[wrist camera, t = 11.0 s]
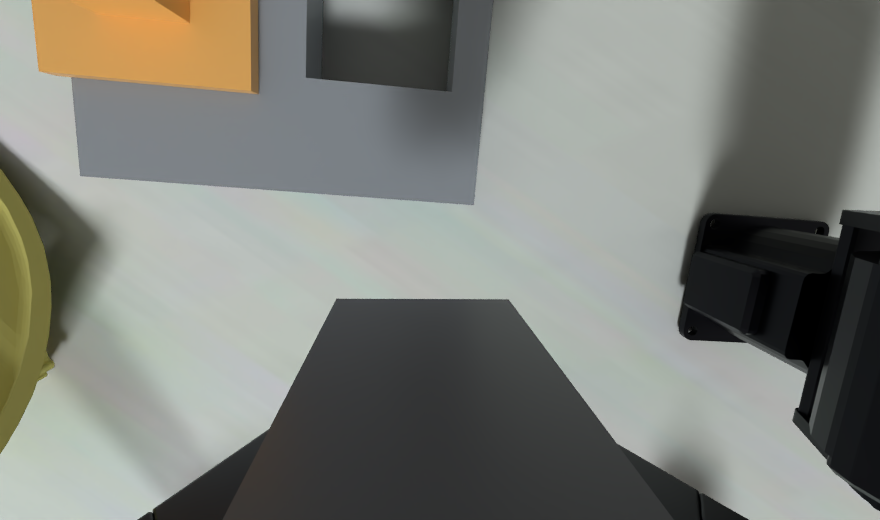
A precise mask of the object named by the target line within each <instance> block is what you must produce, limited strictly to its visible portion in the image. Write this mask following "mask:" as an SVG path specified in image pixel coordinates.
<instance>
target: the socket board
mask: <svg viewBox="0 0 880 520" xmlns="http://www.w3.org/2000/svg"><path fill="white" fill-rule="evenodd" d="M492 7H493V0H453V12H452V25H451V38H450V51H449V64H448V77H447V90H446V91H439V90H428V89H418V88H407V87H397V86H387V85H376V84H366V83H355V82H345V81H335V80H324V79H321V75H322V29H323V0H258V73H259V94H249V93H238V92H227V91H216V90H206V89H195V88H184V87H173V86H162V85H151V84H140V83H130V82H119V81H108V80H97V79H86V78H75V77H71V79H72V90H73V101H74V112H75V123H76V134H77V145H78V156H79V167H80V176H87V177H101V178H114V179H128V180H141V181H155V182H168V183H182V184H195V185H209V186H223V187H236V188H250V189H263V190H277V191H290V192H304V193H317V194H331V195H344V196H358V197H371V198H385V199H398V200H412V201H426V202H439V203H453V204H466V205H474V197H475V186H476V176H477V165H478V155H479V144H480V134H481V123H482V113H483V102H484V92H485V81H486V71H487V60H488V50H489V39H490V29H491V18H492Z"/></svg>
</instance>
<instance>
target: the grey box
mask: <svg viewBox="0 0 880 520" xmlns="http://www.w3.org/2000/svg"><path fill="white" fill-rule="evenodd" d="M223 520H674V519H673V518H672V517H671V515H670V514H669V513H668V511H667V510H666V509H665V507H664V506H663V505H662V503H661V502H660V501H659V499H658V498H657V497H656V495H655V494H654V493H653V491H652V490H651V489H650V487H649V486H648V485H647V483H646V482H645V481H644V479H643V478H642V477H641V475H640V474H639V473H638V471H637V470H636V469H635V467H634V466H633V465H632V463H631V462H630V461H629V459H628V458H627V457H626V455H625V454H624V453H623V451H622V450H621V449H620V447H619V446H618V445H617V443H616V442H615V441H614V439H613V438H612V437H611V435H610V434H609V433H608V431H607V430H606V429H605V427H604V426H603V425H602V423H601V422H600V421H599V419H598V418H597V417H596V415H595V414H594V413H593V411H592V410H591V409H590V407H589V406H588V405H587V403H586V402H585V401H584V399H583V398H582V397H581V395H580V394H579V393H578V391H577V390H576V389H575V387H574V386H573V385H572V383H571V382H570V381H569V379H568V378H567V377H566V375H565V374H564V373H563V371H562V370H561V369H560V367H559V366H558V365H557V363H556V362H555V361H554V359H553V358H552V357H551V355H550V354H549V353H548V351H547V350H546V349H545V347H544V346H543V345H542V343H541V342H540V341H539V339H538V338H537V337H536V335H535V334H534V333H533V331H532V330H531V329H530V327H529V326H528V325H527V323H526V322H525V321H524V320H523V318H522V317H521V316H520V314H519V313H518V312H517V310H516V309H515V308H514V306H513V305H512V304H511V302H510V301H509V300H502V299H336V301H335V303H334V305H333V307H332V309H331V311H330V313H329V315H328V317H327V318H326V320H325V322H324V324H323V326H322V328H321V330H320V332H319V334H318V336H317V338H316V340H315V342H314V344H313V346H312V348H311V349H310V351H309V353H308V355H307V357H306V359H305V361H304V363H303V365H302V367H301V369H300V371H299V373H298V375H297V377H296V378H295V380H294V382H293V384H292V386H291V388H290V390H289V392H288V394H287V396H286V398H285V400H284V402H283V404H282V406H281V407H280V409H279V411H278V413H277V415H276V417H275V419H274V421H273V423H272V425H271V427H270V429H269V431H268V433H267V435H266V436H265V438H264V440H263V442H262V444H261V446H260V448H259V450H258V452H257V454H256V456H255V458H254V460H253V462H252V464H251V466H250V467H249V469H248V471H247V473H246V475H245V477H244V479H243V481H242V483H241V485H240V487H239V489H238V491H237V493H236V495H235V496H234V498H233V500H232V502H231V504H230V506H229V508H228V510H227V512H226V514H225V516H224V518H223Z"/></svg>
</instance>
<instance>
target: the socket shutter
mask: <svg viewBox="0 0 880 520" xmlns="http://www.w3.org/2000/svg"><path fill="white" fill-rule="evenodd" d="M31 1H32V10H33V20H34V29H35V39H36V49H37V58H38V68H39V71H40V72H44V73H48V74H52V75H56V76H64V77H75V78H86V79H97V80H108V81H119V82H130V83H140V84H151V85H162V86H173V87H184V88H195V89H206V90H216V91H227V92H238V93H249V94H259V73H258V0H31Z"/></svg>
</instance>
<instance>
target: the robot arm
mask: <svg viewBox="0 0 880 520" xmlns="http://www.w3.org/2000/svg"><path fill="white" fill-rule="evenodd" d="M712 220H715V224H714V226H713V227H712V228H711V226H710V223H711V221H712ZM839 224H842V225H843V226H842V230H841V234H840V238H835V237H830V236H828V234H829V227H828V225H827V224H826V223H825V222H820V221H812V220H799V219H785V218H772V217H759V216H746V215H733V214H720V213H708V214H706V215H704V217H703V218H702V219H701V222H700V226H699V231H698V236H697V241H696V246H695V251H694V255H693V256H692V261H691V266H690V271H689V276H688V281H687V286H686V290H685V295H684V305H683V310H682V315H681V319H680V324H679V332H680V334H681V335H682V336H683V337H685V338H686V339H689V340H701V341H721V342H742V343H749V344H751V345H753V346H755V347H757V348H759V349H760V350H762V351H764V352H766V353H768V354H770V355H772V356H774V357H776V358H778V359H779V360H781V361H783V362H785V363H787V364H789V365H791V366H793V367H795V368H797V369H798V370H800V371H802V372H804V373H806V374H807V376H806V380H805V384H804V388H803V393H802V397H801V401H800V405H799V408H796V409H795V412H794V416H793V420H792V421H793V422H794V423H795V425H796V426H797V427H798V428H799V429H800V430H801V431H802V432H803V434H804V435H805V436H806V437H807V438H808V439H809V440H810V441H811V443H812V444H813V445H814V446H815V447H816V448H817V449H818V450H819V452H820V453H821V454H822V455H823V456H824V457H825V458H826V459H827V465H828V466H829V467H830V468H831V469H832V471H833V472H834V473H835V474H836V475H838V476H839V477H840V478H842V479H843V480H844V481H846V482H847V483H848V484H849V485H850V486H851V487H852V488H853V489H854V490H855V491H856V492H857V493H858V494H859V495H860V496H861V497H862V498H864V499H865V500H866V501H868V502H869V503H870V504H871V505H872V506H873V507H874V508H875V509H877V510H879V511H880V211H862V210H842V215H841V219H840V223H839ZM816 229H817V232H816V234H815V230H816ZM692 326H693V329H692V331H690V332H688V330H689V328H690V327H692ZM268 431H269V430H267V431H266V432H264V433H263V434H261V435H260V436H258V437H257V438H256V439H254V440H253V441H251V442H250V443H248V444H247V445H245V446H244V447H242V448H241V449H240V450H238V451H237V452H235V453H234V454H232V455H231V456H229V457H228V458H227V459H225V460H224V461H222V462H221V463H219V464H218V465H216V466H215V467H214V468H212V469H211V470H209V471H208V472H206V473H205V474H203V475H202V476H200V477H199V478H198V479H196V480H195V481H193V482H192V483H190V484H189V485H187V486H186V487H185V488H183V489H182V490H180V491H179V492H177V493H176V494H174V495H173V496H171V497H170V498H169V499H167V500H166V501H164V502H163V503H161V504H160V505H158V506H157V507H156V508H154V509H153V513H152V512H148V513H147V514H145V515H144V516H142V517H141V518H139V519H138V520H223V518H224V516H225V514H226V512H227V510H228V508H229V506H230V504H231V502H232V500H233V498H234V496H235V495H236V493H237V491H238V489H239V487H240V485H241V483H242V481H243V479H244V477H245V475H246V473H247V471H248V469H249V467H250V466H251V464H252V462H253V460H254V458H255V456H256V454H257V452H258V450H259V448H260V446H261V444H262V442H263V440H264V438H265V436H266V435H267V433H268ZM617 445H618V444H617ZM618 446H619V447H620V449H621V450H622V451H623V453H624V454H625V455H626V457H627V458H628V459H629V461H630V462H631V463H632V465H633V466H634V467H635V469H636V470H637V471H638V473H639V474H640V475H641V477H642V478H643V479H644V481H645V482H646V483H647V485H648V486H649V487H650V489H651V490H652V491H653V493H654V494H655V495H656V497H657V498H658V499H659V501H660V502H661V503H662V505H663V506H664V507H665V509H666V510H667V511H668V513H669V514H670V515H671V517H672V518H673V519H674V520H748V519H747V518H745V517H743V516H741V515H739V514H738V513H736V512H734V511H732V510H731V509H729V508H727V507H725V506H723V505H722V504H720V503H718V502H717V501H715V500H713V499H711V498H710V497H708V496H706V495H705V494H703V493H701V494H699V492H698V491H697V490H696V489H694V488H692V487H691V486H689V485H687V484H686V483H684V482H682V481H680V480H679V479H677V478H675V477H673V476H672V475H670V474H668V473H667V472H665V471H663V470H661V469H660V468H658V467H656V466H655V465H653V464H651V463H649V462H648V461H646V460H644V459H642V458H641V457H639V456H637V455H636V454H634V453H632V452H630V451H629V450H627V449H625V448H624V447H622V446H620V445H618Z"/></svg>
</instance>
